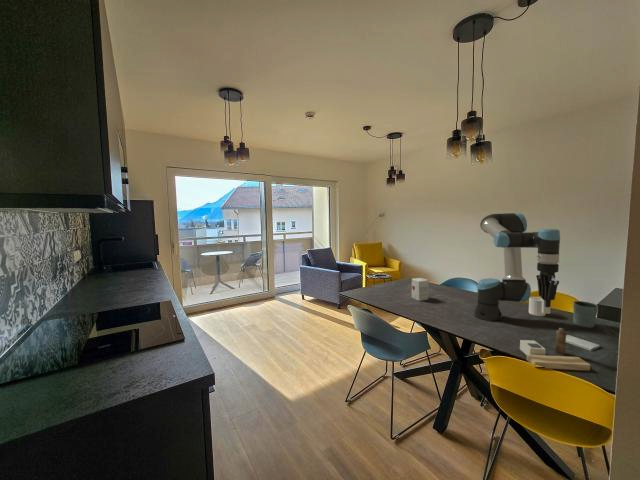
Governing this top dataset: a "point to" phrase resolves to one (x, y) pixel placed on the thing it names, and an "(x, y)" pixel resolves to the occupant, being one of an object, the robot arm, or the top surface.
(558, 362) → the batten
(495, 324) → the top surface
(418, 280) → the supplement box
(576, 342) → the hard drive
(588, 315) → the grey round pot
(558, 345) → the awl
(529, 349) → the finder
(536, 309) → the mug
